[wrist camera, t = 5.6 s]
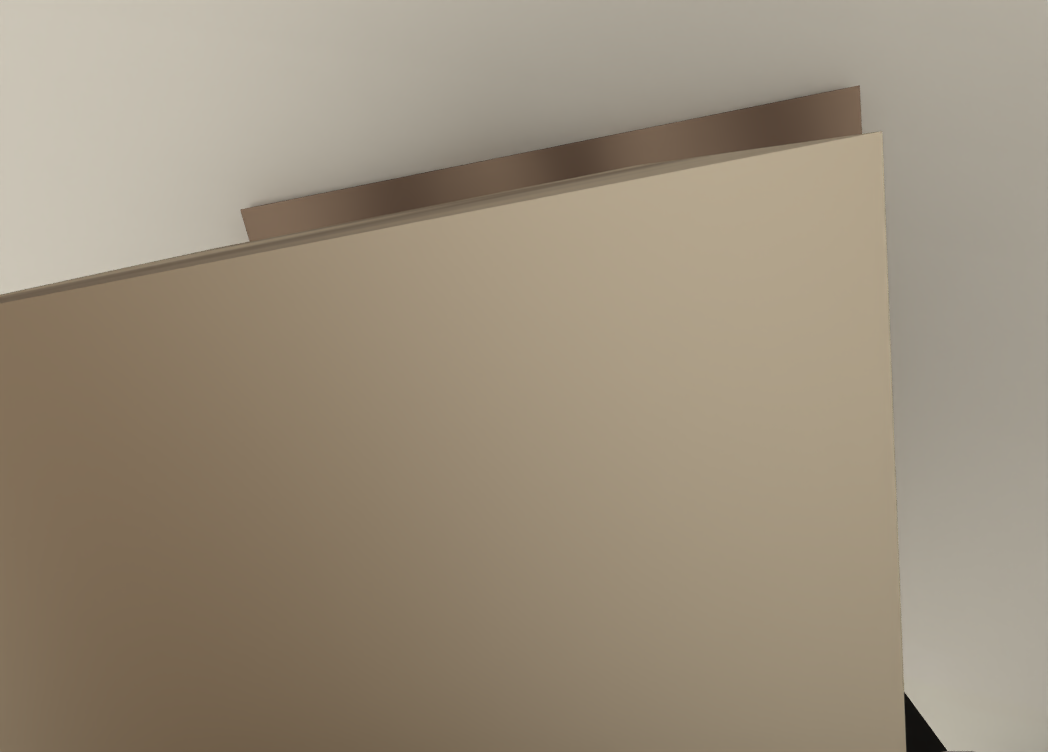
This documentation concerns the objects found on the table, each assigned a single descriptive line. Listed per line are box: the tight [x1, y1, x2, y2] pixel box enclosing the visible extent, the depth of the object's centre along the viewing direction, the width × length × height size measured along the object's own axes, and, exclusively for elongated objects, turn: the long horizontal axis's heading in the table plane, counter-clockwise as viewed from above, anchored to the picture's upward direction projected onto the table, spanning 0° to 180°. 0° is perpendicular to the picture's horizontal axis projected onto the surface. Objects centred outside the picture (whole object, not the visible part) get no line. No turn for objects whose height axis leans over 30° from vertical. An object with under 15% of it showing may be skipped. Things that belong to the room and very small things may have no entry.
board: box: [241, 85, 862, 241], centre depth 23 cm, size 20×29×7 cm
